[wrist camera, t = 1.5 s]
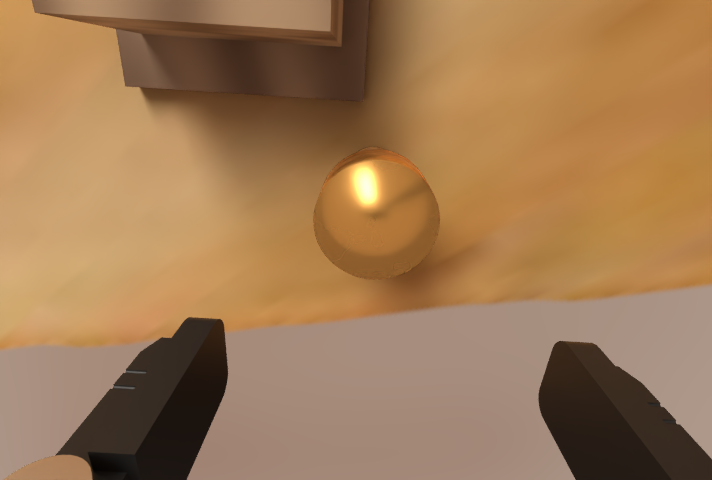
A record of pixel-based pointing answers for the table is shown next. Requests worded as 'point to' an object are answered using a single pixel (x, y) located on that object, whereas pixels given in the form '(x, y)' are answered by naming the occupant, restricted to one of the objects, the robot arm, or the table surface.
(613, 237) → the table surface
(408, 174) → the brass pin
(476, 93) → the table surface
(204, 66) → the hitch block
